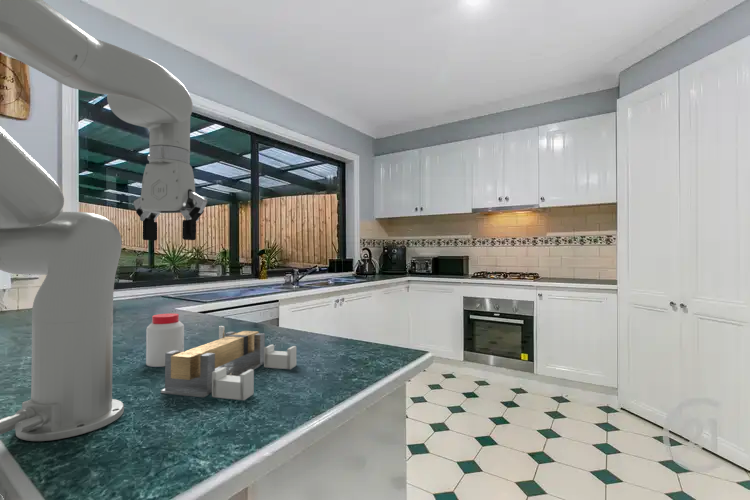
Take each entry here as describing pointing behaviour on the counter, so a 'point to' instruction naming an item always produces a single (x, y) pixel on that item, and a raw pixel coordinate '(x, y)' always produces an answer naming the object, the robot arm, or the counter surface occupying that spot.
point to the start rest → (249, 375)
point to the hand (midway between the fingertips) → (169, 240)
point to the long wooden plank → (224, 349)
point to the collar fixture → (213, 368)
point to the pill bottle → (163, 338)
